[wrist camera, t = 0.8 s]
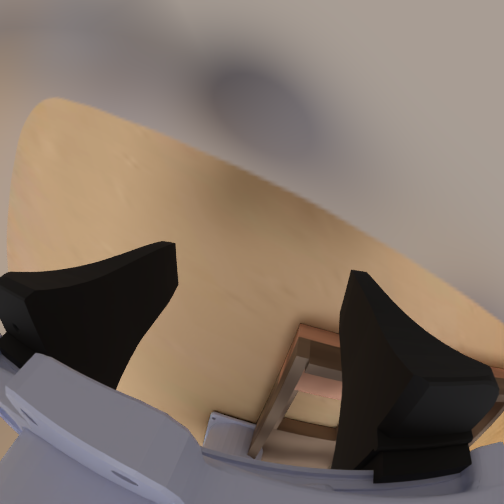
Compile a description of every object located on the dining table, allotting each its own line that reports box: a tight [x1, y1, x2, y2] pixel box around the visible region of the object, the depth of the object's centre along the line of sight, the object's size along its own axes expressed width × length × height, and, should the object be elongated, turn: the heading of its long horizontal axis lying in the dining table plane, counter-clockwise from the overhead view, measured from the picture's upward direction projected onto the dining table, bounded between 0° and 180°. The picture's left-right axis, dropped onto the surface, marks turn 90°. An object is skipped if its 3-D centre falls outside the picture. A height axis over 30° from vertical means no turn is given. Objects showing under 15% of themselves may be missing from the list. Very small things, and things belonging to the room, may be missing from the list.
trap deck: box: [247, 323, 504, 469], centre depth 24 cm, size 22×27×5 cm
